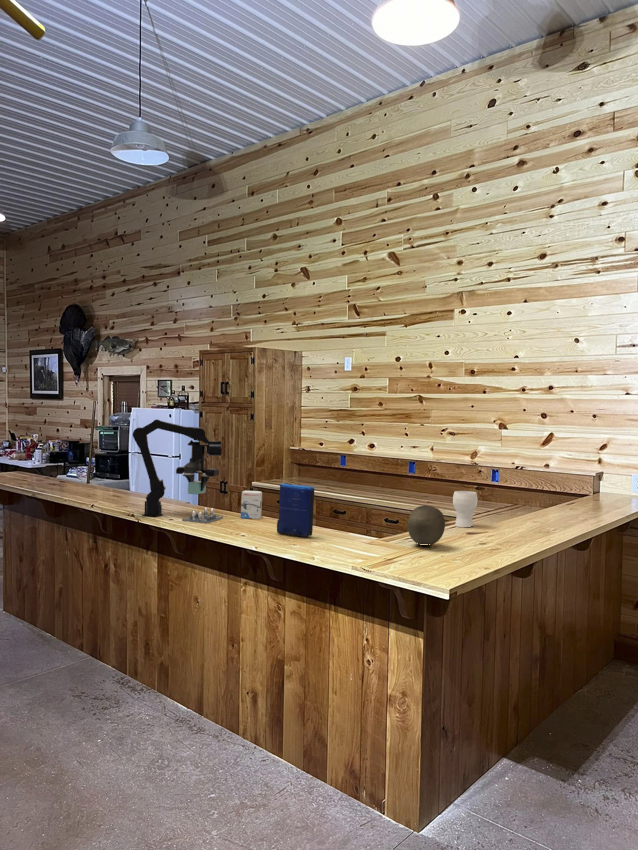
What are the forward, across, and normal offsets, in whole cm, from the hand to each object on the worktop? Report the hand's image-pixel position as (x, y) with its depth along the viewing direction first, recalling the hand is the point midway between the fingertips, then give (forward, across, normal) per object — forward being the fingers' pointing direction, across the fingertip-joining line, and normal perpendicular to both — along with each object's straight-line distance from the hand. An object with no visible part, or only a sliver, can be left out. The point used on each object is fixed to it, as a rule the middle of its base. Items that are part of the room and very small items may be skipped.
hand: (196, 490), depth 286 cm
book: (+11, +55, -23) cm, 60 cm away
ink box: (+11, +24, +6) cm, 27 cm away
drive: (+1, 0, 0) cm, 1 cm away
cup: (+11, +114, +31) cm, 119 cm away
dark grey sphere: (+11, +105, -20) cm, 107 cm away
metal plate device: (+11, +8, -8) cm, 16 cm away
